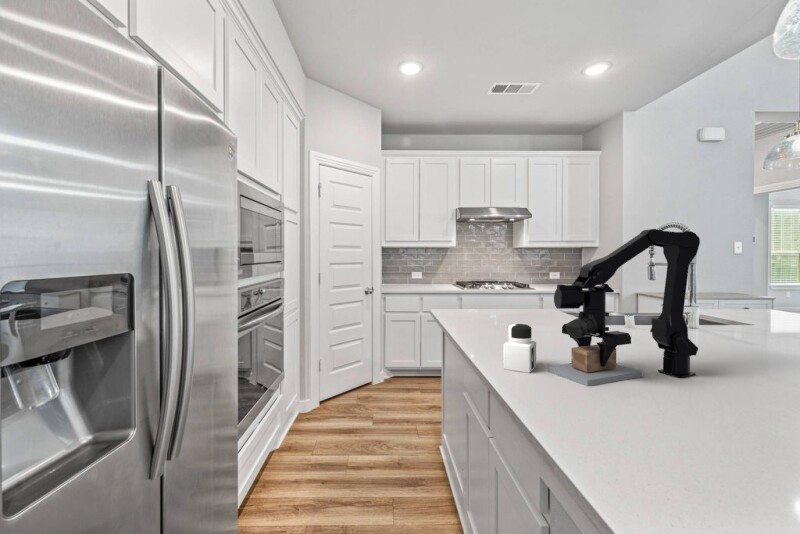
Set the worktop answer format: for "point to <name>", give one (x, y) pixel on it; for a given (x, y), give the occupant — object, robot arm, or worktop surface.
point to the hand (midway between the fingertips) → (594, 363)
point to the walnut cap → (591, 359)
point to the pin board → (594, 374)
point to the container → (519, 349)
